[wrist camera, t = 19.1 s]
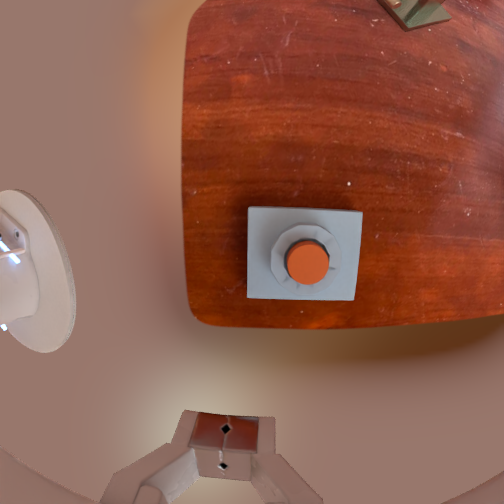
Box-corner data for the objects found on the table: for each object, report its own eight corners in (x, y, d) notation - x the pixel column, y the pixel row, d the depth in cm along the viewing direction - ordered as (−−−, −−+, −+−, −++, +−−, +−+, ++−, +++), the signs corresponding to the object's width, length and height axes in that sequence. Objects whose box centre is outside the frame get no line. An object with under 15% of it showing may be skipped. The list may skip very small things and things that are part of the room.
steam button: (285, 278, 26) (286, 284, 24) (287, 239, 25) (288, 243, 23) (323, 279, 26) (327, 285, 24) (326, 241, 25) (330, 244, 23)
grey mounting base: (248, 290, 30) (245, 305, 26) (250, 206, 28) (246, 208, 24) (348, 292, 30) (358, 307, 26) (356, 210, 27) (368, 214, 24)
